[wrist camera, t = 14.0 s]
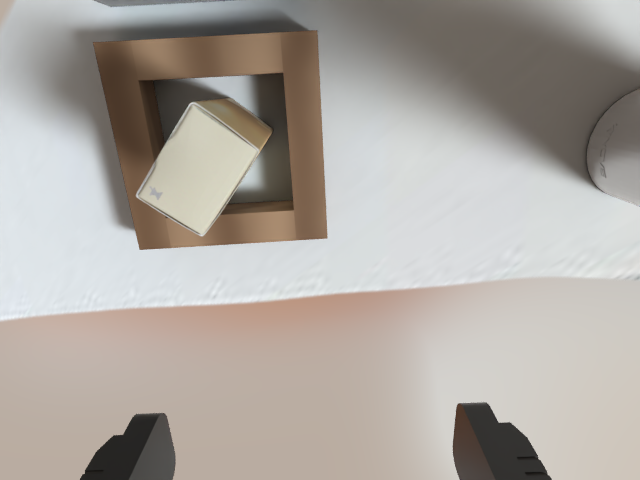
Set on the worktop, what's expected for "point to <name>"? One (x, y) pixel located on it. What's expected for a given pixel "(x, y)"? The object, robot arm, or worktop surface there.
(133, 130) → the socket block
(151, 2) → the board
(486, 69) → the worktop surface
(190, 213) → the skincare box
